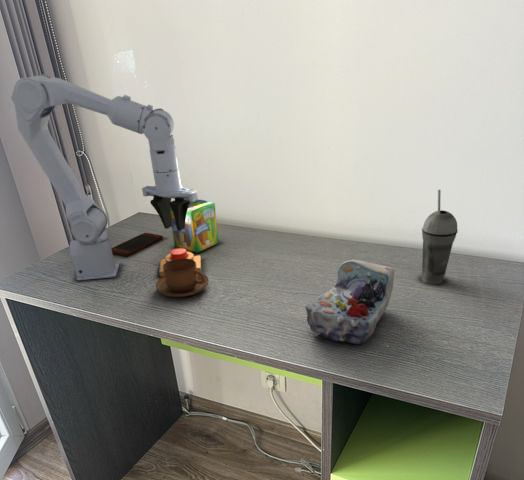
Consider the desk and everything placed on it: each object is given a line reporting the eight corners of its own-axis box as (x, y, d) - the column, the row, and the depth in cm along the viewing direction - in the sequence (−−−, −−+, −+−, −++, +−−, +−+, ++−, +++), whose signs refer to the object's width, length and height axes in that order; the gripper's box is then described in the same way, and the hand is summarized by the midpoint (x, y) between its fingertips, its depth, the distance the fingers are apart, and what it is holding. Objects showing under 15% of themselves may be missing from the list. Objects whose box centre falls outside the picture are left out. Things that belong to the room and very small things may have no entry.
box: (160, 276, 121) (157, 264, 119) (162, 264, 127) (160, 252, 126) (201, 272, 121) (199, 260, 120) (200, 260, 128) (199, 248, 126)
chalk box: (197, 254, 132) (190, 198, 124) (173, 247, 137) (164, 193, 128) (220, 243, 138) (214, 189, 130) (196, 237, 143) (189, 185, 134)
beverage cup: (451, 287, 107) (466, 195, 96) (416, 286, 109) (427, 195, 98) (447, 273, 113) (462, 184, 102) (414, 272, 115) (425, 185, 104)
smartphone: (163, 235, 142) (126, 253, 132) (163, 238, 143) (127, 256, 132) (145, 231, 146) (107, 249, 135) (145, 234, 146) (108, 252, 136)
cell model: (402, 258, 95) (371, 305, 81) (397, 306, 101) (367, 359, 87) (338, 248, 101) (298, 292, 86) (336, 295, 107) (299, 343, 92)
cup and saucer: (213, 278, 118) (210, 254, 115) (203, 301, 108) (200, 276, 105) (165, 278, 119) (160, 254, 116) (150, 302, 110) (145, 276, 106)
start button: (171, 261, 121) (169, 255, 120) (171, 255, 124) (170, 249, 123) (187, 260, 121) (186, 253, 120) (187, 254, 125) (186, 247, 124)
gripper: (202, 167, 111) (209, 226, 118) (152, 163, 117) (161, 219, 125) (183, 175, 106) (192, 236, 113) (132, 170, 112) (143, 228, 120)
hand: (174, 228), depth 119 cm, fingers open, 3 cm apart
